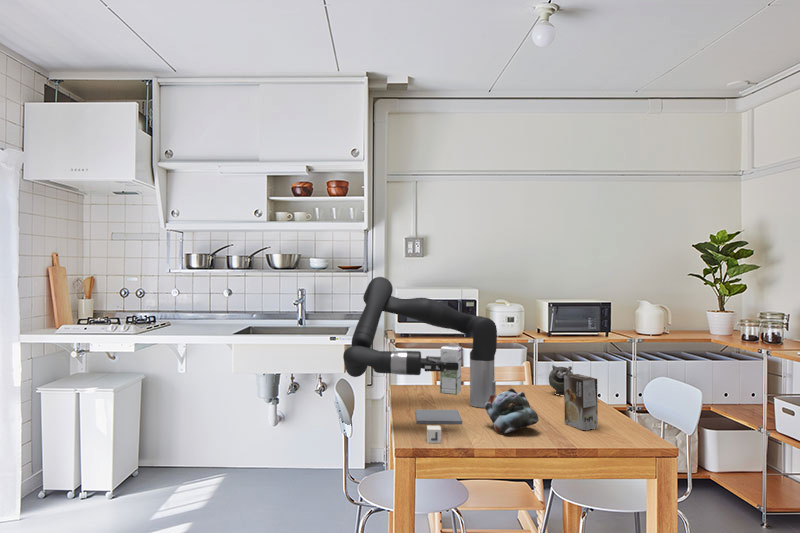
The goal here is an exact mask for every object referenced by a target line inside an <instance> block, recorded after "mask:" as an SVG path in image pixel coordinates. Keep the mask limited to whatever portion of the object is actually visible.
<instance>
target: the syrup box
mask: <svg viewBox="0 0 800 533" xmlns="http://www.w3.org/2000/svg"><path fill="white" fill-rule="evenodd" d="M440 357H441V359H440V361H441V362H446V363H447V362H452V363H458V365H459V366H458V370H445V371H443V372H439V376H440V377H439V378H440V380H439V382H440V383H439V385H440V386H439V393H440V394H444V395H454V396H457V395H459V394H460V393H461V392H462V347H461V346H456V345H455V346H452V345H443V346H441V347H440Z"/></svg>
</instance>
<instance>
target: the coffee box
mask: <svg viewBox="0 0 800 533" xmlns="http://www.w3.org/2000/svg"><path fill="white" fill-rule="evenodd" d="M563 399H564V400H563V402H564V405H563V406H564V407H563V408H564V424H565V423H566V424H565V425H567V424H568V425H567V426H570V425H571V426H570V427H573V428H575V427H576V429H578V430H581V431H583V430H586V431H590V429H592V430H595V429H594V428H599V426H598V420H599V418H598V415H599V414H598V411H599V410H598V378H596V377H595V378H594V377H592V376H587V375H583V374H578V373H573V374H572V375H564V397H563Z"/></svg>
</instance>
